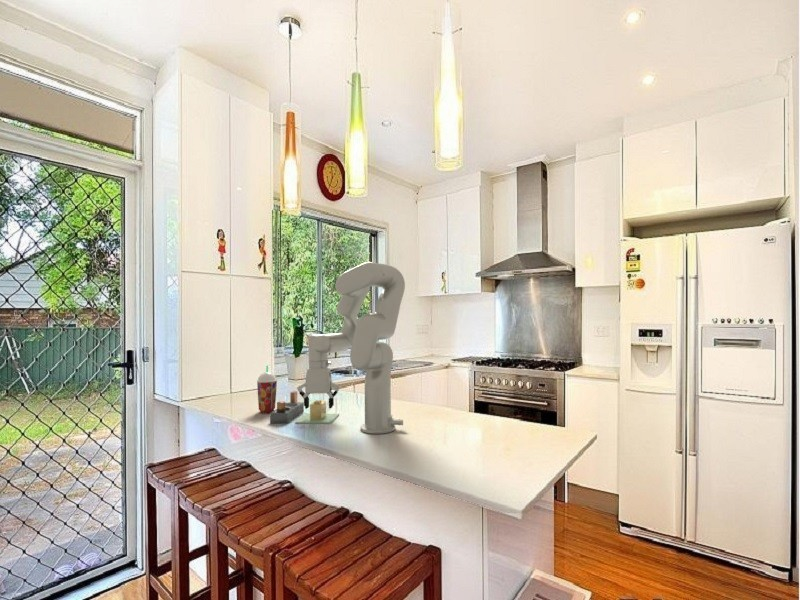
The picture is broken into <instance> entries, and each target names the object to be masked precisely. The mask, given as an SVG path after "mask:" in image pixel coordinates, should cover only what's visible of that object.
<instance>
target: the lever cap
mask: <svg viewBox="0 0 800 600" xmlns="http://www.w3.org/2000/svg"><path fill="white" fill-rule="evenodd" d="M309 414H310V420H322V419H323V418H324V417H325V416H326V414H327V401H326V400H322V399H316V400H314V401H313V402H311V403H309Z"/></svg>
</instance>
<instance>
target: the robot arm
mask: <svg viewBox="0 0 800 600" xmlns="http://www.w3.org/2000/svg"><path fill="white" fill-rule="evenodd" d="M334 287H335V290H336V293H337V294H339V295H340V296H341V297H340V300H339V302H338V303H337V306H336V312H337V313H338V315H340V316H341V317H342V318H343V326H342V328H341V330H340V332H338V333H337V332H336V333H326V334H323V333H321V334H320V333H318V334H316V333H315V334H310V335H309V336H308V343H307V344H308V368H307V369H306V375H305V382H304V383H302V384H301V385H299V386H298V387H296V389H297V392H298V393H299V395H300V396H301V397H302V399H303V402H304V408H305V409H307V410H308V408H310V397H309V395H321V394H327V396H329V398H328V408H329V409H332V408H333V406H334V404H335V403H334V401H335V400H334V397H335V396H336V395H337V394H338V393H339V391H340V389H341V386H340V385H338V384H336V383H334V382H333V379H332V378H333V377H332V373H331V372H332V371H331V368H330V367H329V366H332V361H329V360H328V358H329V356H328V354H334V353H341V352H345V351H347V350H349V348H350V352H349V354H350V358H349V360H350V363H351V365H352V367H353V368H354V369H355V370H357V371H365V377H364V423H363V424H362V425H360V431H361V432H363V433H365V434H373V435H374V434H375V435H379V434H380V435H382V434H389V433H392V432H393V431H395V430H396V426H403V425H404V419H401V418H394V417H393V414H392V409H391V408H392V406H391V405H392V399H391V398H392V395H391V392H392V391H391V387H392V382H391V380H392V365H393V361H394V352H393V349H392V347H391V346H390V345H389V344H388V343H387V342H384V341H379V340H388V339H390V338H392V337H393V336H394V334H395V332H396V328H397V327H396V326H397V322H398V318H399V314H400V308H401V304H402V300H403V297H404V294H405V289H406V282H405V278H404V275H403V273H402V272H401V271H400V270H399V269H397V268H396V267H394V266H392V265H389V264H385V263H379V262H371V261H367V262H363V263H361V264H359V265H357V266H355V267H352V268H351V269H348V270H346V271H344V272H343V273H341V274H340V275H338V277H337V279H336V281H335V285H334ZM371 287H375V288H382V291H381V293H380V294H379V296H378V298H377V301H376V306H375V310H374V312H369V313H365V314H362V316H360V318H359V319H358V314H359V313H360V310H361V308H362V306H363V304H364V302H365V299H366V297H367V295H368V293H369V292H370V288H371ZM303 388H305V392H304V390H303ZM333 388H334V389H335V390H334V391H332V390H333Z"/></svg>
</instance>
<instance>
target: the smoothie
mask: <svg viewBox="0 0 800 600" xmlns="http://www.w3.org/2000/svg"><path fill="white" fill-rule="evenodd" d="M265 367H266V368H265V370H266V371H264V372H263V373H261V374H260V375H259V377H258V378H257V380H256V381H257V383H256V384H257V385H256V387H257V404H258V411H259V413H260V414H270V413H271V412H273V411H274V410H276V403H277V402H276V400H277V385H278V379H277V378H276V375H275V374H274V373H272V372H271V371H269V365H266V366H265Z"/></svg>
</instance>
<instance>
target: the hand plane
mask: <svg viewBox="0 0 800 600" xmlns="http://www.w3.org/2000/svg"><path fill="white" fill-rule="evenodd" d="M289 396H290V399H289V400H290V402H288V401H287V402H286V401H277V402H276V408H275V409H274V411H273V412H271V413H269V424H280V425H281V424H283V425H284V424H289V423H290V422H292V421H293V420H294V419H296V418H297V417H298V416H300V415H301V414H303V413H304V412H305V411H304V408H305V406H304V401H303V402H302V401H298V390H292V391H291V392H290V395H289Z"/></svg>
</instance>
